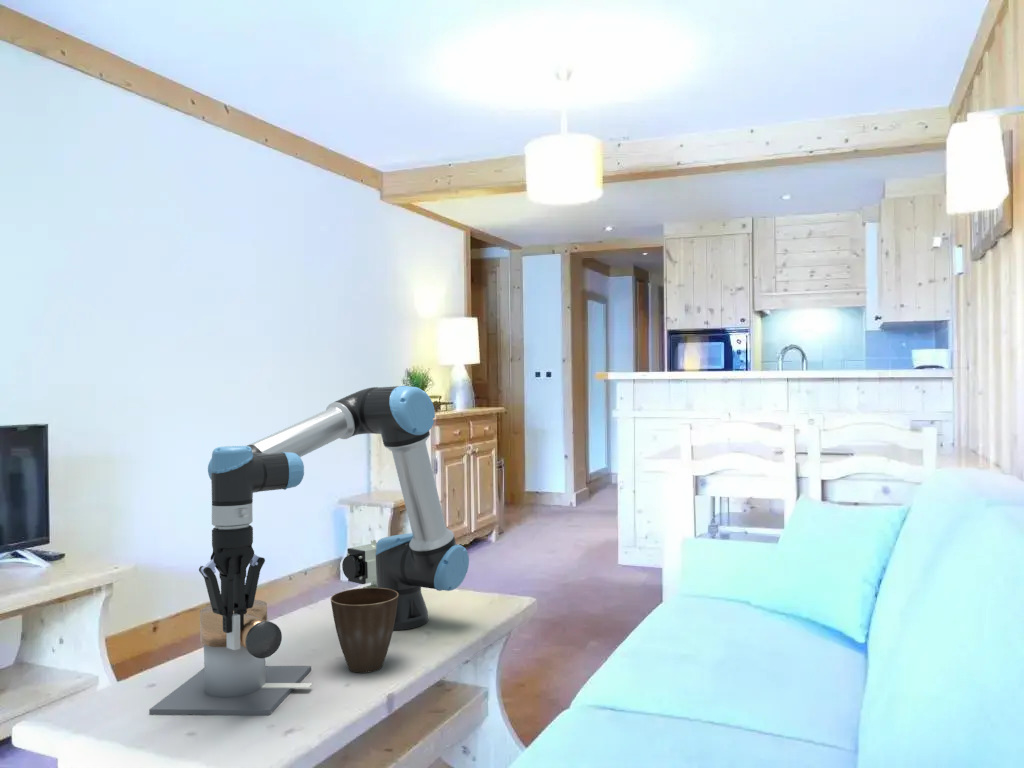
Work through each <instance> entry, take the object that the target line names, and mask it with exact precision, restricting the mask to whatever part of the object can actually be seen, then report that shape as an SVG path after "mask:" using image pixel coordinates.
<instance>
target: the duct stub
mask: <svg viewBox="0 0 1024 768" xmlns="http://www.w3.org/2000/svg"><path fill="white" fill-rule="evenodd" d="M203 666H204V667H203V668H202V669H201V670H200V671H198V672H197V673H196V674H194V675H193V676H192V677H190V678H189V679H188V680H186V681H185V682H184V683H181V685H180V686H179V687H177V688H176V689H174V690H173V691H172V692H171V693H169V694H168V695H166V696H165V697H164V698H162V699H161V700H160V701H158V702H157V703H156V704H155V705H153V706H152V707H150V708H149V710H148V711H149V712H148V713H149V714H152V716H153V715H154V714H184V715H185V714H197V715H196V716H198V715H199V714H200V715H199V716H204V715H205V716H221V715H222V716H271V715H272V713H273V712H274V711H275V710H276V709H277V708H278V707H279V706H280V705H281V704H282V703H283V702H284V701H285V699H286V698H287V697H288V696H289V695H290V694H292V692H293V691H294V689H310V688H311V687H312V686H313V684H314V683H313V682H302V681H303V680H304V679H305V678H306V677H307V676H308V675H309V673H311V671H312V665H267V664H266V658H256V657H254V656H253V655H251V654H250V653H249V652H248V651H247V649H246V648H244V647H243V646H241V645H240V649H237V650H232V649H229V648H227V647H212V646H206V645H204V644H203ZM184 715H183V716H184ZM154 716H155V715H154Z"/></svg>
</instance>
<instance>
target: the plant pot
mask: <svg viewBox="0 0 1024 768" xmlns="http://www.w3.org/2000/svg"><path fill="white" fill-rule="evenodd" d="M330 604H331V610H332V616H333V621H334V626H335V627H334V628H335V630H336V634H337V638H338V641H339V645H340V648H341V651H342V654H343V657H344V660H345V662H346V664H347V667H348V669H349V670H350V672H354V673H359V674H361V673H365V674H366V673H372V672H376V671H378V670H380V669H382V667H383V666H384V663H385V659H386V657H387V653H388V651H389V647H390V644H391V643H390V642H391V639H392V636H393V631H394V630H393V628H394V623H395V617H396V611H397V604H398V592H396V591H394V590H391V589H386V588H363V587H359V588H353V589H348V590H343V591H340V592H336V593H334V594H333V595H332V596H331V597H330Z"/></svg>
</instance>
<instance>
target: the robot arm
mask: <svg viewBox="0 0 1024 768" xmlns="http://www.w3.org/2000/svg"><path fill="white" fill-rule="evenodd" d="M435 415H436V412H435V407H434V404H433V400H432V399H431V397H430V396H429V394H428V393H427V392H426V391H424V390H422V389H421V388H420V387H416V386H409V385H400V386H399V385H396V386H382V387H378V386H376V387H375V386H374V387H367V388H363V389H360V390H358V391H356V392H354V393H351V394H349V395H346V396H344V397H342V398H340V399H338V400H335V401H334V402H331V403H329V404H328V405H327V407H326V409H325V410H324V411H321V412H319V413H317V414H314V415H312V416H310V417H307V418H306V419H304V420H301V421H299V422H296V423H294V424H292V425H290V426H287V427H285V428H283V429H281V430H278V431H277V432H275V433H273V434H269V435H268V436H266V437H263V438H261V439H259V440H257V441H254V442H252V443H249V444H248V445H232V446H231V445H230V446H229V445H227V446H218V447H215V448H214V449H213V451H212V453H211V459H210V460H209V462H208V464H207V473H208V476H209V479H210V480H211V482H210V483H211V525H212V526H213V528H212V529H211V548H212V553H211V556H210V561H208V562H207V563H206V564H205V565H204V566H203V565H200V567H198V571H199V573H200V574H201V576H202V577H203V579H204V583H205V587H206V590H207V594H208V599H209V601H210V605H211V607H212V611H213V613H216V614H219V615H222V616H223V631H224V632H225V633H227V648H229V649H232V650H237V649H240V630H242V629H243V627H244V614H246V613H247V609H249V608H252V607H253V604H254V600H256V594H257V588H258V584H259V579H260V574H261V570H262V568H263V565H264V564H265V562H266V558H264V557H261V556H258V555H257V554H255V550H254V548H253V543H254V528H253V526H252V525H250V524H252V523H253V516H254V515H253V501H254V499H253V497H254V495H253V494H254V493H258V492H259V493H260V492H267V491H270V492H271V491H276V490H277V491H278V490H284V491H285V490H287V489H291V488H296V487H298V486H299V485H300V484H301V482H302V481H303V479H304V476H305V464H304V462H303V460H302V457H303V456H306V455H307V454H309V453H312V452H313V451H316V450H318V449H320V448H322V447H324V446H326V445H329V444H330V443H332V442H335V441H337V440H338V439H340V440H348V439H350V438H352V437H355V436H357V435H366V434H367V435H369V434H376V435H381V439H382V443H383V447H385V448H386V449H388V450H390V451H391V452H392V453H391V454H392V458H393V461H394V465H395V469H396V473H397V477H398V481H399V485H400V486H399V487H400V490H401V493H402V497H403V502H404V505H405V509H406V510H405V511H406V512H407V513H406V514H407V517H408V521H409V526H410V528H411V529H410V530H411V532H409V533H402V534H396V535H390V536H389V535H388V536H385V537H383V538H380V539H379V540H377V541H376V543H377V544H376V554H375V555H376V575H377V588H386V589H391V590H394V591H396V592H398V604H397V611H396V617H395V623H394V628H393V631H402V630H403V631H405V630H409V629H411V630H412V629H414V628H419V627H421V626H423V625H425V624H427V623H428V622H429V611H428V610H429V609H428V608H427V604H426V601H425V599H424V597H423V593H422V588H426V589H432V590H436V591H439V592H440V591H446V592H449V591H453V590H456V589H457V588H458V587H460V586H461V584H462V583H463V582H464V581H465V579H466V576H467V573H468V571H469V566H470V558H469V557H470V555H469V553H468V550H467V549H466V547H464V546H463V545H461V544H458V543H457V542H456V538H455V534H454V532H453V531H452V530H450V529H449V528H448V527H446V526H447V525H446V523H445V522H446V521H445V518H444V514H443V509H442V506H441V502H440V497H439V492H438V489H437V484H436V481H435V477H434V476H435V475H434V472H433V468H432V464H431V460H430V455H429V451H428V447H427V440H428V439H429V437H430V435H431V433H430V430H431V429H432V427H433V426H434V422H435V421H434V419H435ZM247 568H248V569H247ZM216 571H218V572H219V577H218V578H219V579H220V585H219V581H218V578H217V576H216V574H215V573H217V572H216ZM233 611H234V613H233Z"/></svg>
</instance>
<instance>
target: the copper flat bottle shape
mask: <svg viewBox="0 0 1024 768" xmlns="http://www.w3.org/2000/svg"><path fill="white" fill-rule="evenodd" d="M233 613H234V611H233ZM199 632H200V633H199V634H200V637H199V638H200V643H201V644H202V645H203V646H204V645H206V646H212V647H227V633H225V632H224V631H223V616H222V615H219V614H216V613H213V611H212V607H211V604H209V605H207V606H204V607H202V608H201V609H200V610H199ZM282 636H283V634H282V630H281V628H280V627H279V626H278V624H276V623H274V622H272V621H269V620H268V603H267V602H266V601H264V600H262V599H261V600H260V599H254V604H253V607H252V608H249V609H247V613H246V614H244V627H243V629H242V630H240V645H241V646H243V647H244V648H246V649H247V651H248V652H249V653H250V654H251V655H253V656H254V657H256V658H265V659H267V658H269V657H271V656H273V655H274V654H275V653H276V652H278V651H277V650H279V648H280V647H281V643H282V639H283V637H282Z"/></svg>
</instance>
